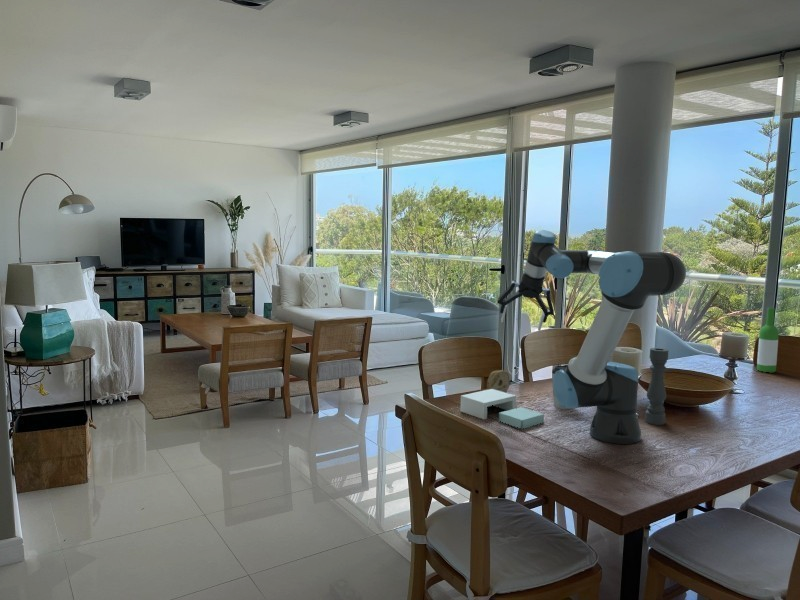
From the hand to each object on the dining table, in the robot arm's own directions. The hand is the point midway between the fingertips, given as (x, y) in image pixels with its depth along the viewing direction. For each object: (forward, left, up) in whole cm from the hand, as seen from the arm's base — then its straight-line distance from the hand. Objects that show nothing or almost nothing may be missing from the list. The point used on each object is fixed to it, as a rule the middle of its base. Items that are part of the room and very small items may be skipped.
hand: (520, 324), depth 218 cm
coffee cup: (-11, -12, -30) cm, 34 cm away
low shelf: (+1, +15, -30) cm, 33 cm away
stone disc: (+14, -4, -30) cm, 34 cm away
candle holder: (-41, -22, -30) cm, 56 cm away
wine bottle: (-32, -138, -30) cm, 145 cm away
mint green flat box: (-14, +15, -30) cm, 36 cm away
